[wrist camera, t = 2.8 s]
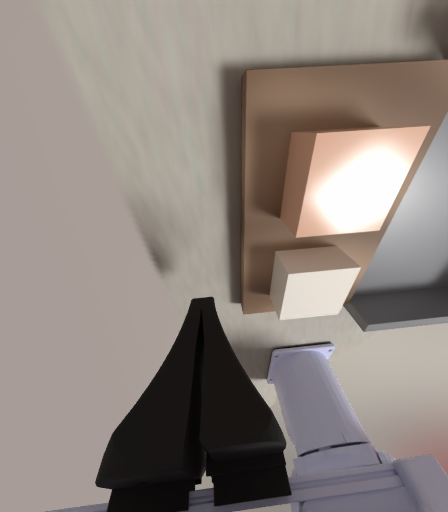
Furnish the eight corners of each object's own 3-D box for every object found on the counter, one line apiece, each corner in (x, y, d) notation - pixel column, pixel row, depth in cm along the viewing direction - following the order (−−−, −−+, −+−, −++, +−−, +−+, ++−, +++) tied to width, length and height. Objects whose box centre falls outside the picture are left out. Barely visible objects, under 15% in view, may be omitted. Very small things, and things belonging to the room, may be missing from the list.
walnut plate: (340, 294, 18) (348, 303, 17) (241, 304, 18) (243, 314, 17) (445, 66, 9) (475, 58, 8) (242, 76, 8) (246, 70, 8)
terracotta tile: (349, 212, 12) (379, 230, 10) (279, 218, 11) (296, 237, 9) (380, 126, 9) (430, 125, 7) (291, 132, 9) (316, 133, 7)
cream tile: (321, 290, 16) (338, 314, 14) (269, 295, 16) (279, 320, 13) (337, 245, 13) (361, 267, 11) (275, 251, 13) (288, 274, 11)
